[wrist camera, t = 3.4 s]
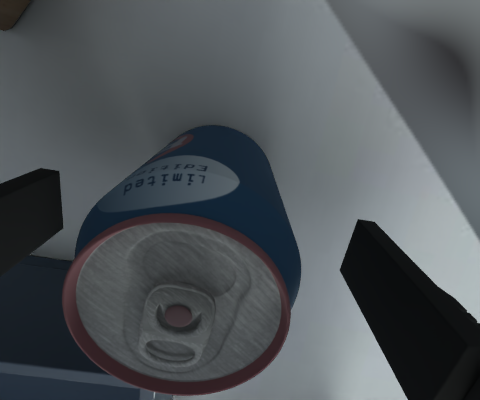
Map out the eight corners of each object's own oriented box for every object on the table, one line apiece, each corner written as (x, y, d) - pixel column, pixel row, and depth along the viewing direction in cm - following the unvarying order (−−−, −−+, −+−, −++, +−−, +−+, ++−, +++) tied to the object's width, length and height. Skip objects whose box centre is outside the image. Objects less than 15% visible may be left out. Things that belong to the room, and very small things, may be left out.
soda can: (173, 108, 17) (33, 154, 5) (284, 139, 17) (363, 237, 6) (155, 211, 19) (34, 386, 8) (253, 235, 20) (268, 428, 9)
